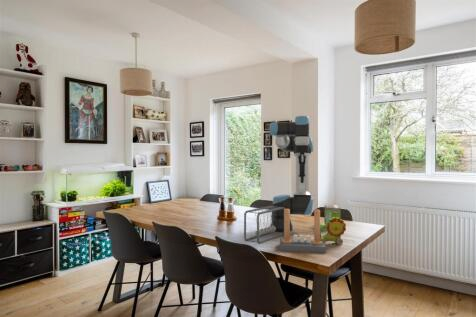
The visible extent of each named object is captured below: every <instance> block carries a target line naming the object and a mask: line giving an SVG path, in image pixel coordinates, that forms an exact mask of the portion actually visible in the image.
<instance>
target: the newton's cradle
mask: <svg viewBox="0 0 476 317" xmlns="http://www.w3.org/2000/svg"><path fill="white" fill-rule="evenodd" d="M273 207H274V206H273V205H268V206H263V207H259V208H254V209H250V210H249V209H248V210H245V212H244V214H243V215H244V216H243V239H244V241H246V242H248V241H249V242H253V243H257V244H259V245H260V244H263V243H265V242H269V241H271V240H273V239H276V238H279V237H282V236H284V232H277V231H275V230H276V227H275V226H274V225H273V211H275V213H276V210H281V209H285V207H277V208H274V209H273ZM247 213H252V214H255V216H256V220H255V221H256V230H255V234H254V235H255V236H251V237H248V238H247ZM265 214H267V220H266V221H267V222H269V215H270V222H269V223H267V224H265V221H263V225H265V227H263V226H261V224H260V223H262V222H261V219H262V218H260V217H261V215H262V216H263V219H265V217H266V215H265ZM274 220H275V218H274ZM271 222H272V226H271V227H270V224H271ZM267 226H268V227H267ZM260 228H261V229H260ZM272 233H273V234H277V235H274V236H272V237H269V238H266V239H263V240H260V237H263V236H266V235H269V234H272ZM254 239H256V240H254Z"/></svg>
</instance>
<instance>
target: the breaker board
mask: <svg viewBox="0 0 476 317" xmlns="http://www.w3.org/2000/svg"><path fill="white" fill-rule="evenodd" d="M282 240H284V238H283V239H282V238H281V239H279V244H278V245H279V246H278V248H279V249H278V250H279V251H281V252H298V253H299V252H300V253H302V252H303V253H319V254H320V253H321V254H322V253H324V254H326V253H327V245H326V242H325V243H324V241H322V244H321V245H315V244H312V241H314V239H313V240H311V243H299V242H294V239H291V240H292V243H289V244H286V243H283V242H282ZM306 241H307V239H306Z"/></svg>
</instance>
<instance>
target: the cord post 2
mask: <svg viewBox="0 0 476 317" xmlns="http://www.w3.org/2000/svg"><path fill="white" fill-rule="evenodd" d="M313 211H314V212H313V213H314V214H313V218H314V219H313V222H314V223H313V224H314V225H313V226H314V227H313V228H314V232H313V233H314V235H313V236H314V237H313V241H312V244H315V245H321V244H322V241H320V226H321V210H320V209H314V210H313Z"/></svg>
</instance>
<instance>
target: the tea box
mask: <svg viewBox="0 0 476 317" xmlns="http://www.w3.org/2000/svg"><path fill="white" fill-rule="evenodd" d="M332 217H335V218H340V219H341V207H340V205H338V204H324V217H323V218H324V221H323V225H324V224H326V222H327V221H328V219H330V218H332Z"/></svg>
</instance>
